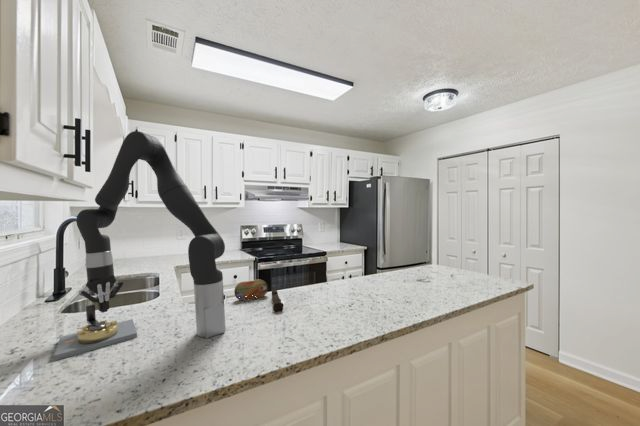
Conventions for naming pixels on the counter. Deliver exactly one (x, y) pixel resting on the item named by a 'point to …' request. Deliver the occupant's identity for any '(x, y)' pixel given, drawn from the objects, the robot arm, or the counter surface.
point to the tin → (251, 289)
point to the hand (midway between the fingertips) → (104, 311)
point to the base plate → (72, 347)
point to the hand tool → (276, 301)
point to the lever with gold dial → (96, 328)
